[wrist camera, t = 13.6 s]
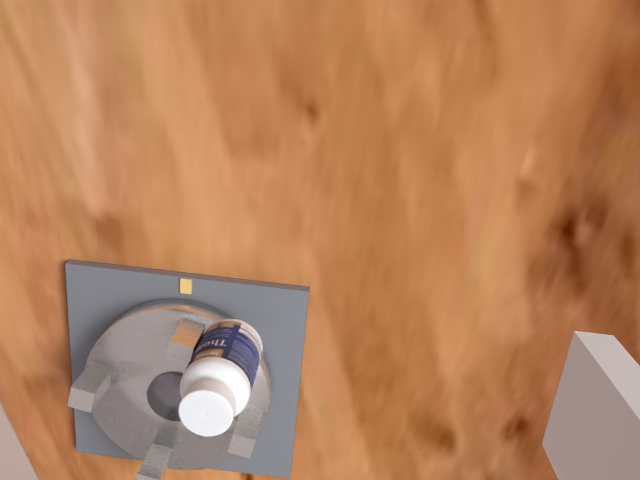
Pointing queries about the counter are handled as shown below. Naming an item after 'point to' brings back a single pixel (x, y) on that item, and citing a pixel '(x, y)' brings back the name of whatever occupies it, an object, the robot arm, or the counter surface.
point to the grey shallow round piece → (162, 389)
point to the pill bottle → (219, 377)
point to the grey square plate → (221, 292)
